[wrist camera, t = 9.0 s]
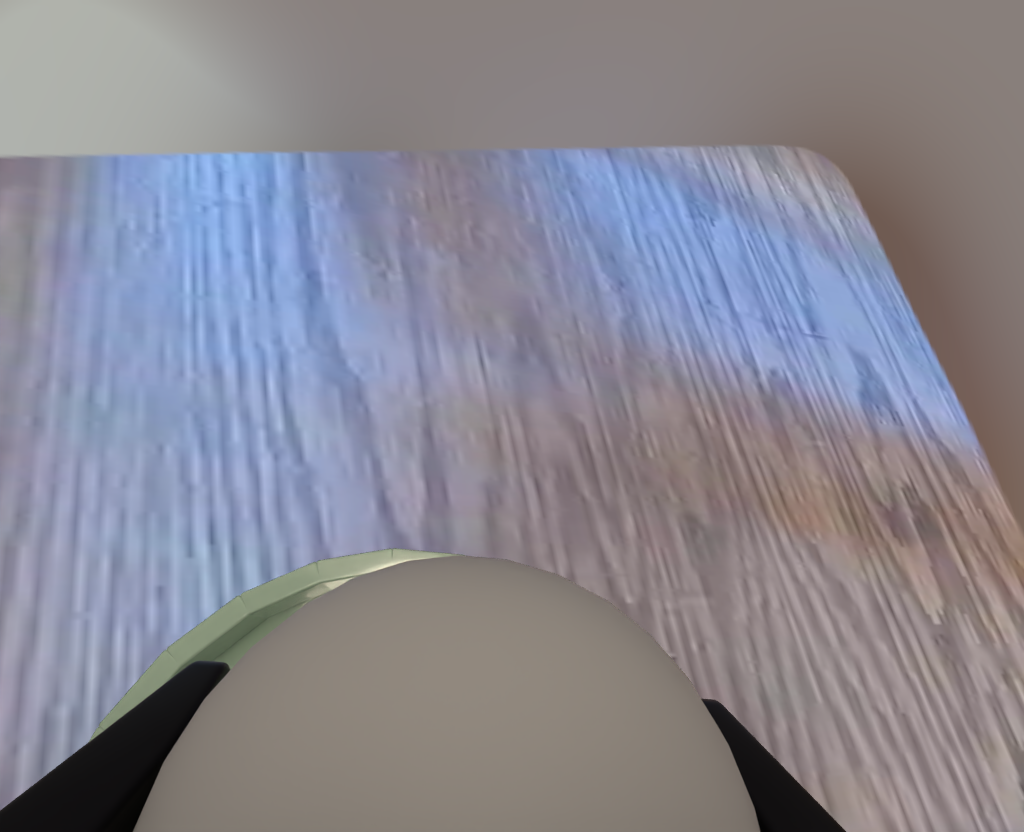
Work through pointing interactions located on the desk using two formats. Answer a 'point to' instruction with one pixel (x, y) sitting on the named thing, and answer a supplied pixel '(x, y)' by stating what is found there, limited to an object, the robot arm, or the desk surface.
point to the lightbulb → (452, 718)
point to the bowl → (255, 619)
